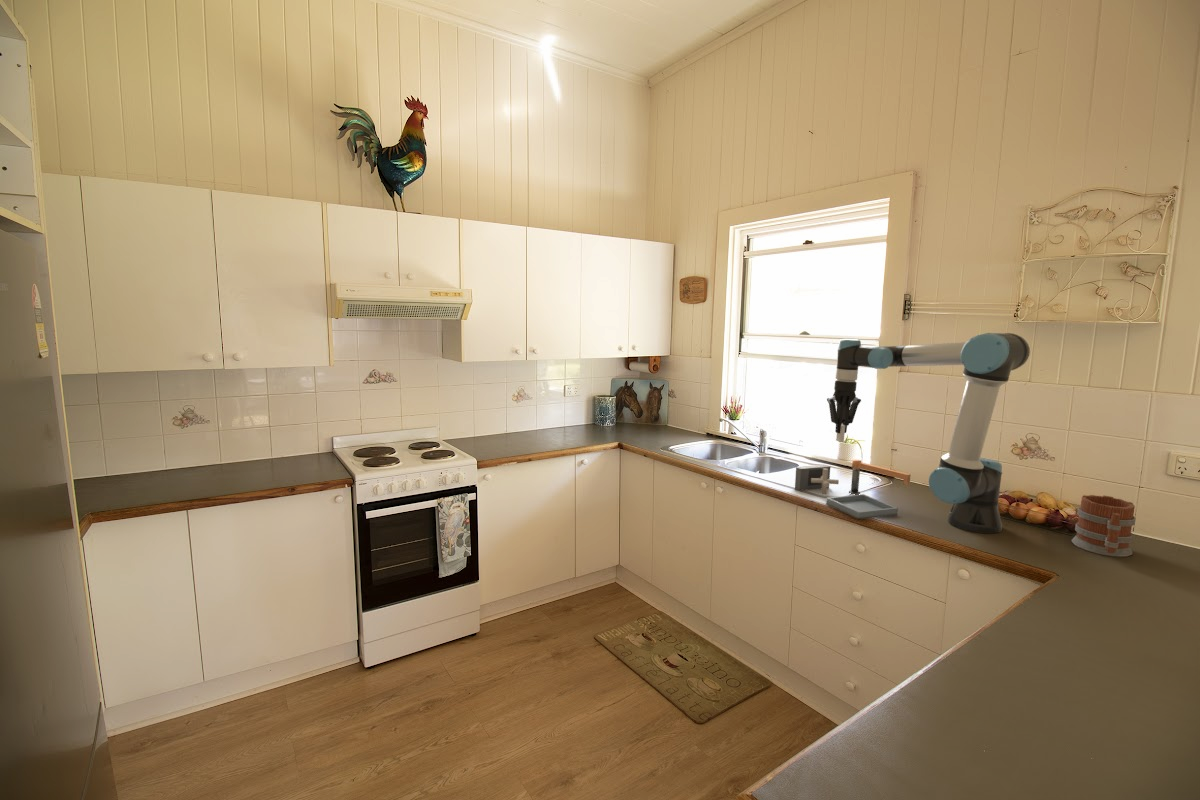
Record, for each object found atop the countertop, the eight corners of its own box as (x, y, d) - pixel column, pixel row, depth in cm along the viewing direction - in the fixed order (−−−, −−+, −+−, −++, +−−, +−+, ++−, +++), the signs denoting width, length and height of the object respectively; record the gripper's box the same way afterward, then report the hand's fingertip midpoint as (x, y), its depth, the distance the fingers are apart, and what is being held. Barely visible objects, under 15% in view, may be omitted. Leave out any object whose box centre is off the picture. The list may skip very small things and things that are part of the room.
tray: (897, 515, 201) (897, 508, 201) (858, 519, 196) (858, 512, 196) (862, 500, 217) (863, 494, 216) (826, 504, 212) (826, 497, 211)
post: (862, 495, 223) (864, 470, 222) (853, 495, 222) (855, 470, 221) (854, 492, 227) (856, 467, 226) (846, 492, 226) (848, 468, 225)
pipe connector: (839, 498, 219) (841, 473, 217) (812, 496, 221) (814, 471, 219) (834, 490, 229) (836, 466, 227) (808, 489, 230) (810, 464, 229)
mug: (1125, 545, 176) (1132, 498, 174) (1143, 568, 160) (1151, 516, 157) (1067, 536, 183) (1073, 490, 181) (1078, 557, 167) (1085, 507, 165)
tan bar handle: (855, 469, 225) (855, 459, 225) (910, 483, 206) (911, 472, 206) (849, 470, 224) (850, 460, 223) (905, 485, 205) (906, 473, 204)
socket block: (829, 488, 232) (830, 466, 231) (799, 490, 228) (800, 468, 227) (824, 485, 235) (825, 464, 234) (794, 488, 231) (796, 466, 230)
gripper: (855, 379, 220) (849, 438, 224) (824, 378, 218) (819, 439, 222) (867, 381, 213) (861, 443, 217) (835, 381, 211) (829, 443, 215)
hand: (839, 441), depth 219 cm, fingers closed
